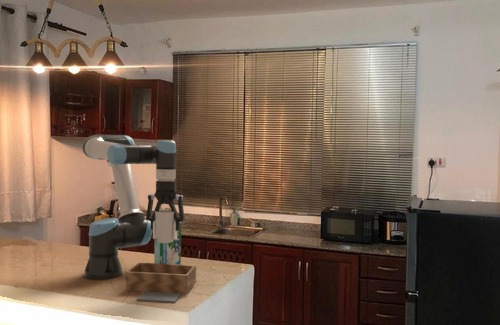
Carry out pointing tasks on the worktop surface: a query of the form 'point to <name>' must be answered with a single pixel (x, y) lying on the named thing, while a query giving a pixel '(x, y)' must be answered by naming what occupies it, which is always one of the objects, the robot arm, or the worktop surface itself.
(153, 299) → the slate mat
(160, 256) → the milk carton
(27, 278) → the worktop surface
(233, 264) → the worktop surface
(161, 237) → the cup
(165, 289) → the crate
